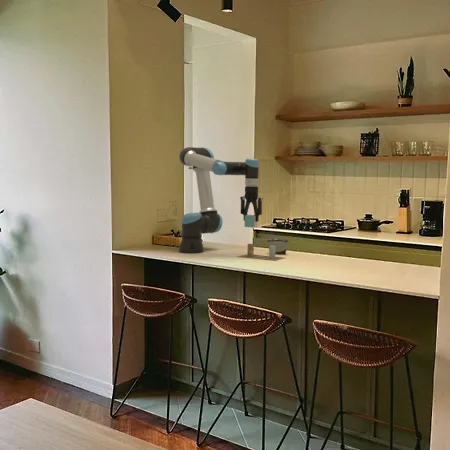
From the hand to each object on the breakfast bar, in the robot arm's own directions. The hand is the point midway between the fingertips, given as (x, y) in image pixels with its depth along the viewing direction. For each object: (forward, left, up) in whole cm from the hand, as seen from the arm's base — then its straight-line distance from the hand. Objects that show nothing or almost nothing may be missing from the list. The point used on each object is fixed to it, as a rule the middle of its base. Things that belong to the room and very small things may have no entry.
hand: (250, 226), depth 319 cm
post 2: (+14, 0, -17) cm, 22 cm away
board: (+7, 0, -18) cm, 19 cm away
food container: (+8, +18, -18) cm, 27 cm away
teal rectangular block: (0, 0, 0) cm, 0 cm away
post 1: (0, 0, -17) cm, 17 cm away
